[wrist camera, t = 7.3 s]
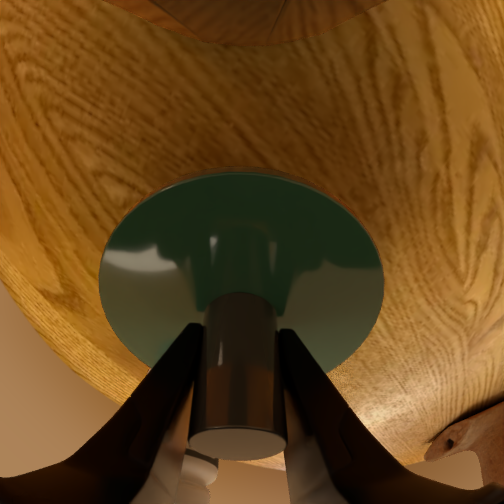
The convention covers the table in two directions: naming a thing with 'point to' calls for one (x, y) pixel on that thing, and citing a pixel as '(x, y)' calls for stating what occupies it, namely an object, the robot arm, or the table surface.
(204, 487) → the pill bottle
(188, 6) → the pot
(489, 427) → the stone cup
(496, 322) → the table surface
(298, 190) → the lid
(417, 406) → the table surface
